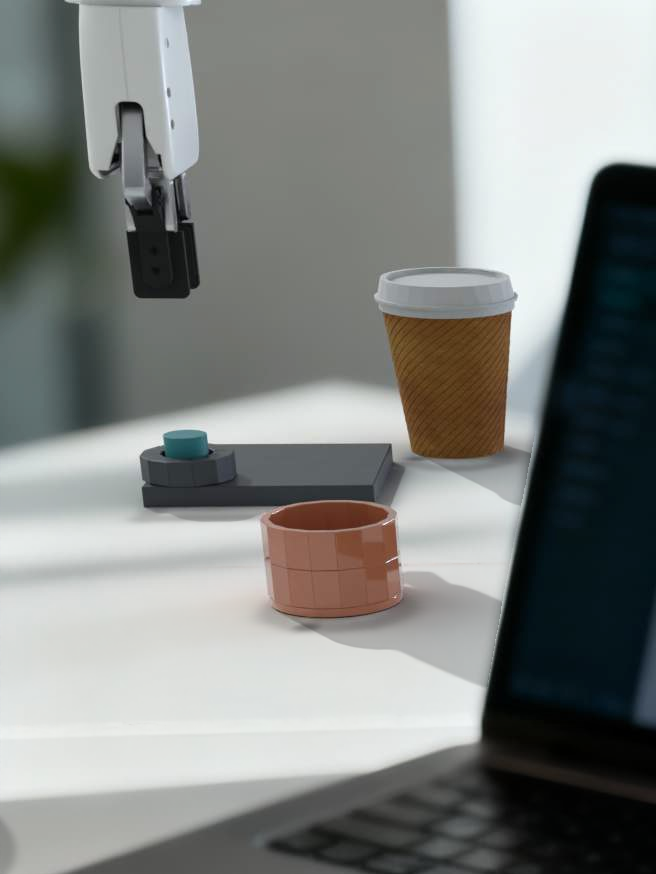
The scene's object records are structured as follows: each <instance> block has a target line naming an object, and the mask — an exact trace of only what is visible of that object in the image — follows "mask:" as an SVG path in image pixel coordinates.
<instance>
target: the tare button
mask: <svg viewBox="0 0 656 874" xmlns="http://www.w3.org/2000/svg"><path fill="white" fill-rule="evenodd" d="M162 438H163V445H164V448H165V456H166V457H169V458H196V457H204V456H207V455H209V448H208V443H209V440H208V433H207V432H206V431H205V430H204V431H203V430H200V429H178V430H176V429H175V430H171V431H167V432H165V433H163V434H162Z"/></svg>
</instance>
